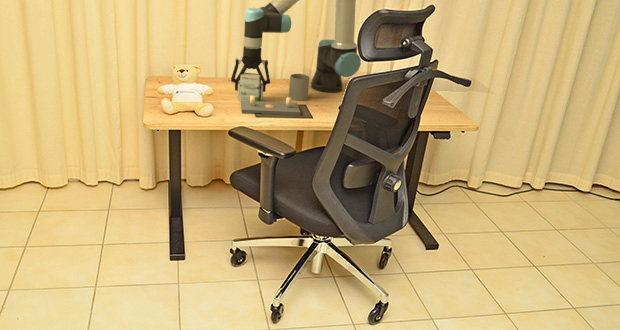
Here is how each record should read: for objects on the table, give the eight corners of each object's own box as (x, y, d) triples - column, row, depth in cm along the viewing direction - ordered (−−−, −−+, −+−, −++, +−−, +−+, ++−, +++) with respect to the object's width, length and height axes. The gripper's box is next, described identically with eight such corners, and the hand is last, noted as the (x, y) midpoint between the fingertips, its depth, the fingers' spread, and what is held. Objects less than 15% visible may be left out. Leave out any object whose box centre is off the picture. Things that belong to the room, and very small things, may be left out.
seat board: (296, 106, 259) (297, 94, 257) (300, 115, 248) (301, 103, 246) (240, 103, 255) (241, 91, 253) (241, 113, 244) (242, 100, 242)
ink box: (260, 100, 263) (262, 73, 258) (258, 103, 258) (260, 76, 253) (240, 97, 263) (242, 71, 258) (238, 101, 258) (239, 74, 254)
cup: (304, 102, 266) (307, 80, 262) (286, 99, 267) (288, 77, 263) (308, 96, 274) (310, 75, 270) (291, 94, 275) (293, 72, 271)
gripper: (277, 46, 256) (274, 96, 265) (225, 43, 253) (223, 94, 262) (279, 50, 250) (275, 102, 258) (226, 47, 246) (224, 99, 255)
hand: (249, 98), depth 260 cm, fingers closed on ink box, 9 cm apart
